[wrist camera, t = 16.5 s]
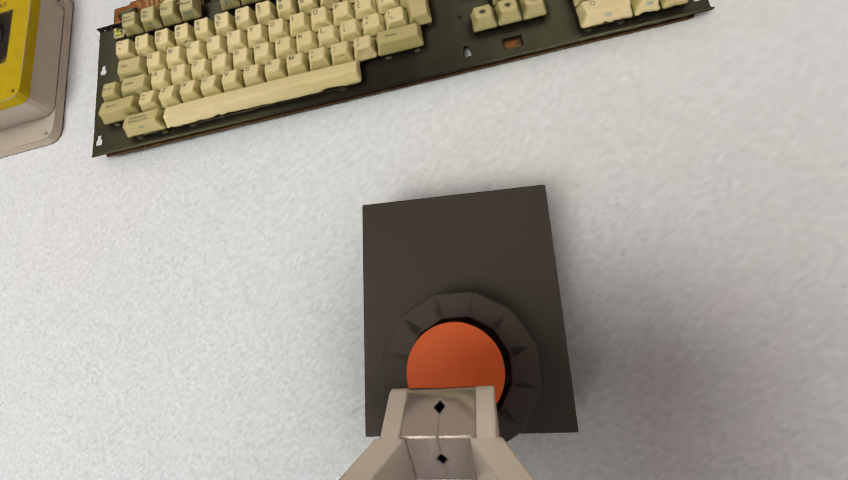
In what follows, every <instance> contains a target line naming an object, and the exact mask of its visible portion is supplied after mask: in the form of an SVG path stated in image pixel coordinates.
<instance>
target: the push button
mask: <svg viewBox="0 0 848 480" xmlns="http://www.w3.org/2000/svg"><path fill="white" fill-rule="evenodd" d="M407 382H408V387H409V388H442V387H459V386H490V385H494V389H495V397H496V404H497V402H498V401H499V399H500V397H501V394H502V391H503V388H504V383H505V367H504V361H503V358H502V355H501V352H500V350H499V348H498V347H497V345H496V344H495V342H494V341H493V340H492V339H491V338H490V337H489V336H488V335H487V334H486V333H485V332H483V331H482V330H480V329H479V328H477V327H475V326H473V325H470V324H467V323H462V322H447V323H442V324H439V325H436V326H434V327H432V328H430V329H429V330H427V331H426V332H425V333H423V334H422V335H421V336H420V338H419V339H418V340H417V341H416V343H415V344H414V346H413V348H412V350H411V352H410V354H409V358H408V362H407Z"/></svg>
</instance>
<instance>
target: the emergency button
mask: <svg viewBox="0 0 848 480" xmlns="http://www.w3.org/2000/svg"><path fill="white" fill-rule="evenodd" d="M72 12H73V5H72V2H71V1H69V0H0V158H2V157H5V156H9V155H13V154H16V153H20V152H24V151H27V150H31V149H34V148H38V147H42V146H45V145H49V144H52V143H53V142H55V141H56V140H57V139H58V138H59V136H60V134H61V131H62V124H63V112H64V101H65V90H66V79H67V68H68V57H69V45H70V34H71V23H72Z"/></svg>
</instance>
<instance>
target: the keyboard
mask: <svg viewBox="0 0 848 480" xmlns="http://www.w3.org/2000/svg"><path fill="white" fill-rule="evenodd" d="M714 8H715V7H711V6H710V4H709V1H708V0H700V1H697V2H694V1H693V0H136V1H134V2H131V3H130V5H128V6H125V7H122V8H118V9H116V10H115V14H114V24H113V25H109V26H106V27H102V28H99V29H97V30H98V31H99V32H100V41H99V42H100V47H99V61H98V80H97V94H96V111H95V128H94V129H95V131H94V144H93V154H92V158H93V157H97V156H100V155H105V154H107V157H110V156H115V155H119V154H123V153H128V152H132V151H136V150H140V149H144V148H148V147H152V146H157V145H160V144H165V143H169V142H173V141H178V140H182V139H186V138H191V137H195V136H199V135H203V134H207V133H212V132H216V131H220V130H224V129H228V128H233V127H237V126H241V125H245V124H250V123H254V122H259V121H263V120H267V119H271V118H276V117H280V116H284V115H289V114H293V113H297V112H301V111H305V110H310V109H314V108H318V107H322V106H326V105H330V104H334V103H338V102H343V101H347V100H351V99H355V98H359V97H364V96H368V95H372V94H376V93H380V92H385V91H389V90H393V89H397V88H401V87H405V86H410V85H414V84H418V83H422V82H426V81H431V80H435V79H439V78H443V77H447V76H452V75H455V74H460V73H464V72H468V71H472V70H476V69H481V68H484V67H489V66H493V65H497V64H501V63H505V62H510V61H514V60H518V59H523V58H527V57H531V56H535V55H539V54H543V53H547V52H551V51H556V50H560V49H564V48H568V47H573V46H577V45H581V44H585V43H589V42H594V41H598V40H602V39H606V38H611V37H615V36H619V35H624V34H628V33H632V32H637V31H641V30H645V29H649V28H654V27H658V26H662V25H666V24H671V23H675V22H679V21H683V20H688V19H691V17H692V18H693V17H694V14H696V13H699V12H703V11H708V10H712V9H714ZM104 30H106V31H104ZM465 46H468V48H469V50H470V51H471V54H472V55H471V56H468V57H464V56H463V52H464V50H463V47H465ZM103 66H105V67H106V70H107V73H106V74H105V75H101V71H102V67H103ZM100 135H101V136H102V137H101V139H102V141H103V142H102V145H100V146H96V142H97V140H98V136H100Z"/></svg>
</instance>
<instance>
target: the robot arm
mask: <svg viewBox="0 0 848 480" xmlns="http://www.w3.org/2000/svg"><path fill="white" fill-rule="evenodd" d="M431 479H461V480H534V479H533V477H532V476H531V475H530V473H529V472H528V471H527V469H526V468H525V467H524V465H523V464H522V463H521V461H520V460H519V459H518V457H517V456H516V455H515V453H514V452H513V451H512V449H511V448H510V447H509V445H508V444H507V443H506V441H505V440H504V439H503V437H500V436H499V425H498V415H497V406H496V397H495V389H494V385H490V386H459V387H442V388H401V389H392V390H391V392H390V394H389V398H388V403H387V408H386V413H385V417H384V422H383V427H382V432H381V436H380V439H375V440H374V441H373V442H372V443H371V444H370V445H369V446H368V448H367V449H366V450H365V451H364V452H363V453H362V454H361V455H360V457H359V458H358V459H357V460H356V461H355V462H354V463H353V464H352V465H351V467H350V468H349V469H348V470H347V471H346V472H345V473H344V474H343V476H342V477H341V478H340V479H339V480H431Z"/></svg>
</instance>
